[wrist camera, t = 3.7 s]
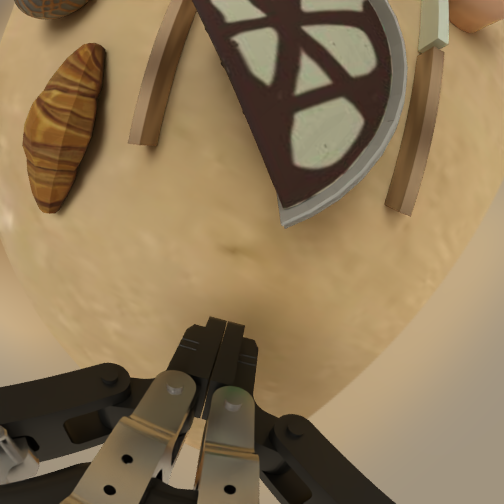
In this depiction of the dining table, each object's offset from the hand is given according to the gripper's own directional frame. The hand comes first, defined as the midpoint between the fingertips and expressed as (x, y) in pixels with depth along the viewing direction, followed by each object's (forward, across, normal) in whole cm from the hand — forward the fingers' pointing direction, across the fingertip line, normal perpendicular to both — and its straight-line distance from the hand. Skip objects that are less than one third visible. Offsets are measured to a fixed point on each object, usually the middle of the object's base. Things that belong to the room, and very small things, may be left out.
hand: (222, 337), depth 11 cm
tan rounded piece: (+7, -11, -25) cm, 29 cm away
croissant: (+8, +15, -7) cm, 19 cm away
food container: (+8, 0, -12) cm, 14 cm away
